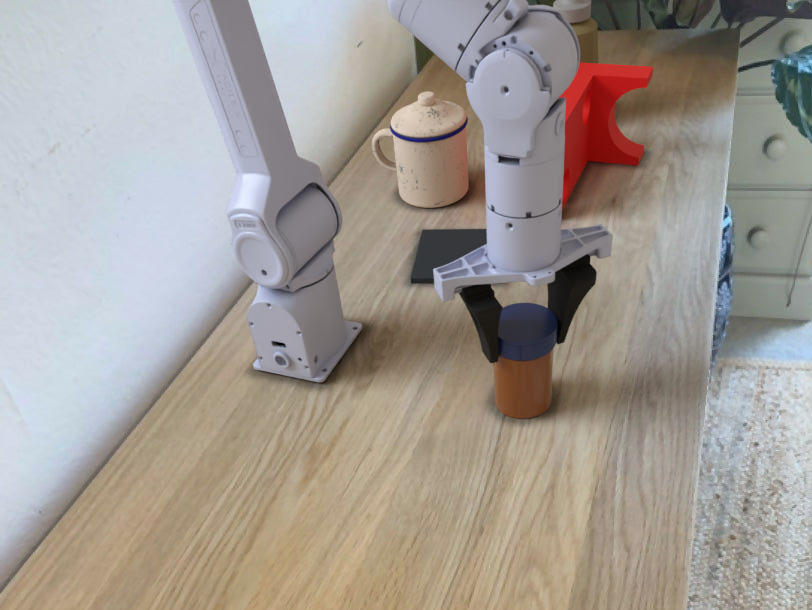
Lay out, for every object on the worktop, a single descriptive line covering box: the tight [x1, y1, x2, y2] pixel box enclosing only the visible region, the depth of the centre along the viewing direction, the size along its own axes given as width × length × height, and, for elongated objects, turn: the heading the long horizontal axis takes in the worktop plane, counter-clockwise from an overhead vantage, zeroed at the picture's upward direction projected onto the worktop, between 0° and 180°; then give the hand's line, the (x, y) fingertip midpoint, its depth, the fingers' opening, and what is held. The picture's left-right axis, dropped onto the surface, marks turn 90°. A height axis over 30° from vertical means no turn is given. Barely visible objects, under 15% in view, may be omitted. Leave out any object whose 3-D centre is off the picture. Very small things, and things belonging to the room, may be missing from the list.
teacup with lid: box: [371, 90, 470, 209], centre depth 102 cm, size 12×9×12 cm
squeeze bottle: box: [552, 0, 599, 64], centre depth 108 cm, size 8×8×18 cm
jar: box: [493, 349, 554, 419], centre depth 76 cm, size 5×5×8 cm
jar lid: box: [498, 302, 558, 361], centre depth 73 cm, size 6×6×2 cm
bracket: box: [558, 62, 654, 210], centre depth 100 cm, size 18×10×10 cm
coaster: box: [410, 228, 487, 284], centre depth 95 cm, size 10×10×1 cm
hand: (522, 346), depth 74 cm, fingers closed on jar lid, 5 cm apart
